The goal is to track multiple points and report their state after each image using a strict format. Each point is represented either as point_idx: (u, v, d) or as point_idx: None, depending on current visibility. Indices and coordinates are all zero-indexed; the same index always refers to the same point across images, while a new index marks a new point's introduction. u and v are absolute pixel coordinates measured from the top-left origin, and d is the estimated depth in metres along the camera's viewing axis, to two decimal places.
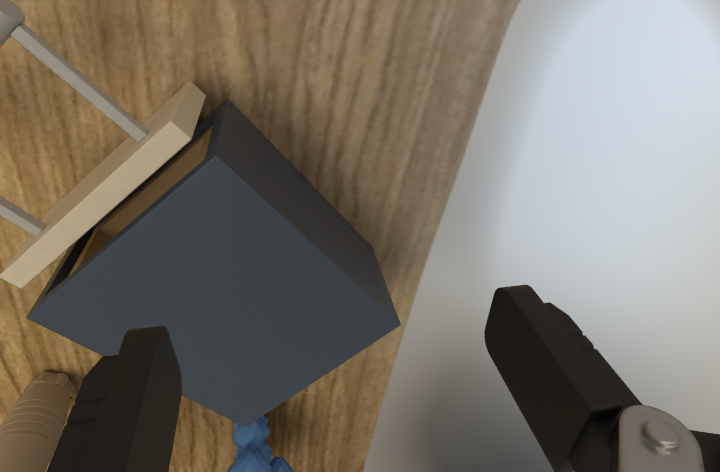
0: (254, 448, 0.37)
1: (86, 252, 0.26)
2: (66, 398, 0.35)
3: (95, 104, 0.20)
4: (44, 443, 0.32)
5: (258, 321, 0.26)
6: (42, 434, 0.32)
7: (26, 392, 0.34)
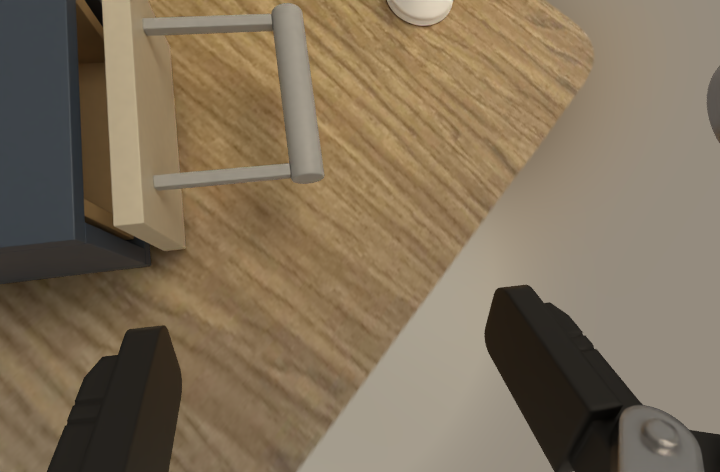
0: None
1: (98, 33, 0.22)
2: None
3: (207, 171, 0.20)
4: None
5: None
6: None
7: None
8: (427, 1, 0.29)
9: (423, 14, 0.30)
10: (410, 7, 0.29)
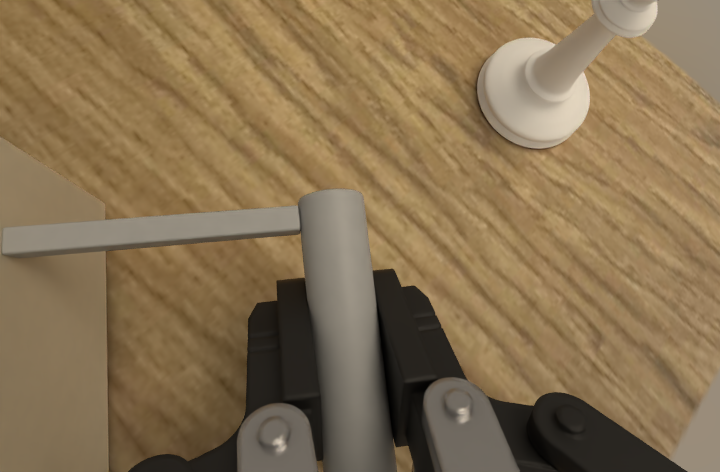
0: None
1: None
2: None
3: None
4: None
5: None
6: None
7: None
8: (552, 114, 0.18)
9: (543, 134, 0.18)
10: (523, 122, 0.18)
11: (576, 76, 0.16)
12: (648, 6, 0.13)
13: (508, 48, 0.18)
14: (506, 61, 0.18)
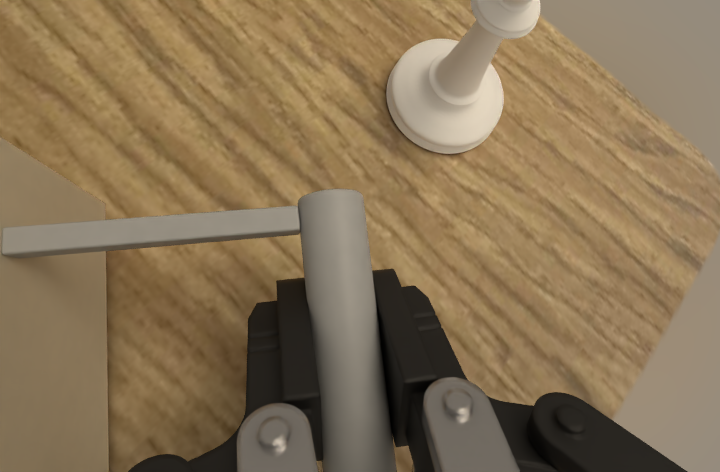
0: None
1: None
2: None
3: None
4: None
5: None
6: None
7: None
8: (459, 118, 0.17)
9: (451, 139, 0.17)
10: (429, 127, 0.17)
11: (476, 79, 0.16)
12: (526, 6, 0.12)
13: (417, 49, 0.18)
14: (413, 62, 0.17)
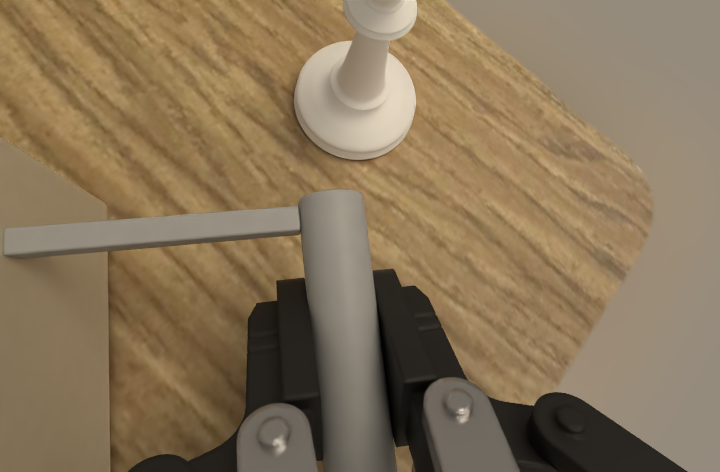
0: None
1: None
2: None
3: None
4: None
5: None
6: None
7: None
8: (364, 123, 0.16)
9: (356, 145, 0.17)
10: (333, 132, 0.16)
11: (373, 82, 0.15)
12: (396, 6, 0.12)
13: (324, 52, 0.17)
14: (318, 66, 0.17)
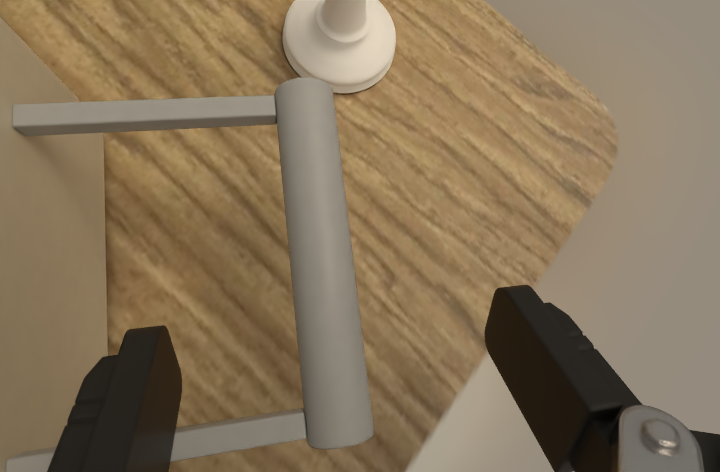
0: None
1: None
2: None
3: None
4: None
5: None
6: None
7: None
8: (347, 56, 0.18)
9: (340, 77, 0.18)
10: (318, 64, 0.18)
11: (354, 13, 0.16)
12: None
13: None
14: (305, 4, 0.18)
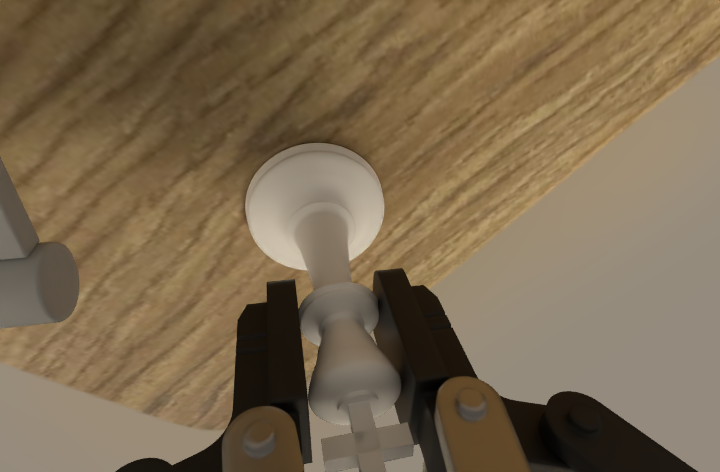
0: None
1: None
2: None
3: None
4: None
5: None
6: None
7: None
8: (276, 228, 0.15)
9: (252, 216, 0.14)
10: (266, 194, 0.14)
11: (303, 258, 0.13)
12: None
13: (369, 186, 0.15)
14: (350, 182, 0.14)
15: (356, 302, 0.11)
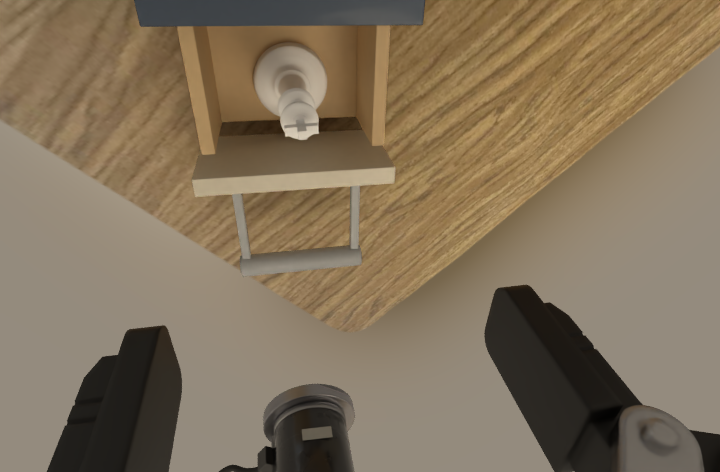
0: None
1: (362, 128, 0.30)
2: None
3: (244, 212, 0.30)
4: None
5: None
6: None
7: None
8: (269, 86, 0.28)
9: (257, 80, 0.28)
10: (264, 67, 0.28)
11: None
12: None
13: (317, 66, 0.28)
14: (307, 62, 0.28)
15: (303, 96, 0.24)
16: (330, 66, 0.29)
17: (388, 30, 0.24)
